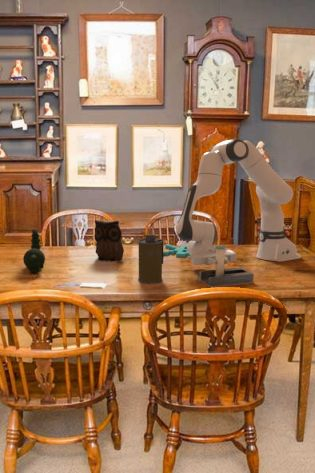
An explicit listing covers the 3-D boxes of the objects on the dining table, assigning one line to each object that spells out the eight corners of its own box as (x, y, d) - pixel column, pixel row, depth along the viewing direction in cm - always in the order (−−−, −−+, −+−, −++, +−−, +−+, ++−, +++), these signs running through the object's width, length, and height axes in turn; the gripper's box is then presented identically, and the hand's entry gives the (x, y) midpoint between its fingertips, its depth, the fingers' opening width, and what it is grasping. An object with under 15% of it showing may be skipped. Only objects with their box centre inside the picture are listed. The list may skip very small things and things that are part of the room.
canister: (143, 284, 212) (143, 238, 208) (134, 278, 222) (134, 233, 218) (167, 281, 217) (167, 235, 212) (157, 275, 226) (157, 231, 222)
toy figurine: (26, 267, 245) (22, 277, 221) (25, 228, 243) (20, 233, 219) (46, 266, 247) (44, 276, 222) (45, 227, 245) (43, 233, 220)
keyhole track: (240, 275, 226) (240, 266, 226) (253, 283, 215) (254, 274, 214) (198, 279, 220) (199, 270, 219) (210, 287, 209) (210, 278, 208)
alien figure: (158, 257, 260) (197, 259, 256) (158, 252, 260) (197, 254, 256) (166, 248, 280) (202, 249, 276) (166, 244, 279) (202, 245, 275)
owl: (124, 261, 250) (124, 221, 246) (100, 263, 245) (99, 222, 241) (116, 255, 262) (116, 216, 257) (92, 257, 257) (92, 218, 253)
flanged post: (222, 277, 220) (223, 244, 217) (228, 281, 215) (229, 247, 212) (211, 278, 218) (211, 245, 215) (216, 282, 213) (217, 248, 210)
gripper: (185, 249, 223) (198, 256, 210) (227, 245, 229) (242, 253, 217) (185, 263, 224) (198, 271, 211) (227, 259, 231) (242, 267, 218)
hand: (221, 262), depth 214 cm, fingers closed on flanged post, 3 cm apart
